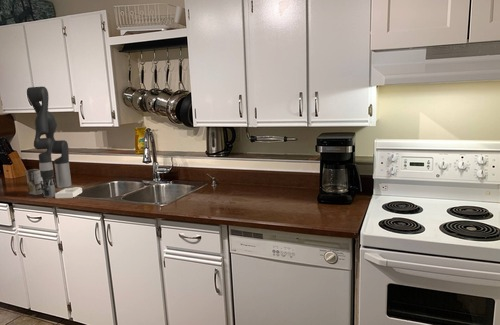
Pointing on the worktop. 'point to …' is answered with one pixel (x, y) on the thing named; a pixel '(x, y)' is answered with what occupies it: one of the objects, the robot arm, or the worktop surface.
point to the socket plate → (68, 192)
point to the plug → (50, 191)
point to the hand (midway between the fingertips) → (49, 194)
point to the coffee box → (34, 181)
